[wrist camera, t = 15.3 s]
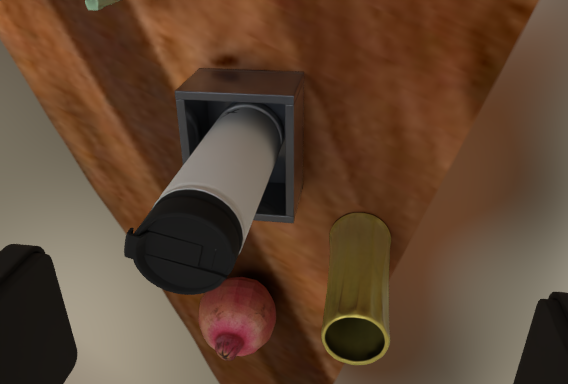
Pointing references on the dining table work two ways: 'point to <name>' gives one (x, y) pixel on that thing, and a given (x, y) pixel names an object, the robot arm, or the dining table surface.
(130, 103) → the dining table surface
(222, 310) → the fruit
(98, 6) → the rack
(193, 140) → the dark grey storage box
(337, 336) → the vase
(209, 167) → the travel mug
